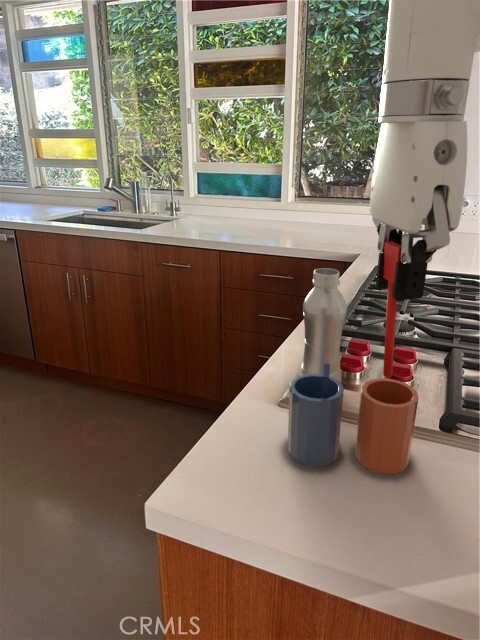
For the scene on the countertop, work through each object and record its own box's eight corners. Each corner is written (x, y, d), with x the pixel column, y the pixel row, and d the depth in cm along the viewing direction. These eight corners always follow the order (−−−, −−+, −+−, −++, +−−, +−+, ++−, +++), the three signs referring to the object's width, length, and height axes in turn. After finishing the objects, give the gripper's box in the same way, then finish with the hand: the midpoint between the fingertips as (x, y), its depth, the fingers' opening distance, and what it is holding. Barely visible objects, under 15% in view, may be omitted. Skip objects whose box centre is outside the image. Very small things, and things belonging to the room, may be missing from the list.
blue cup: (327, 435, 63) (331, 371, 60) (345, 466, 58) (351, 397, 54) (282, 441, 62) (283, 376, 58) (296, 473, 56) (299, 403, 53)
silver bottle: (320, 378, 78) (326, 262, 70) (349, 395, 73) (360, 273, 65) (290, 389, 75) (293, 269, 67) (318, 408, 69) (325, 281, 62)
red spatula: (385, 370, 55) (392, 240, 49) (397, 382, 53) (407, 247, 46) (377, 371, 55) (383, 241, 49) (389, 384, 53) (397, 248, 46)
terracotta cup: (391, 441, 62) (400, 376, 58) (417, 473, 56) (429, 403, 52) (346, 447, 61) (352, 381, 57) (368, 481, 55) (376, 410, 51)
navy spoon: (325, 440, 61) (330, 363, 54) (324, 454, 59) (330, 377, 52) (318, 439, 61) (323, 363, 54) (317, 453, 59) (321, 376, 52)
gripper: (522, 100, 36) (478, 317, 43) (412, 109, 51) (393, 269, 58) (435, 100, 35) (404, 324, 42) (348, 109, 50) (336, 273, 57)
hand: (398, 291), depth 50 cm, fingers closed on red spatula, 3 cm apart
